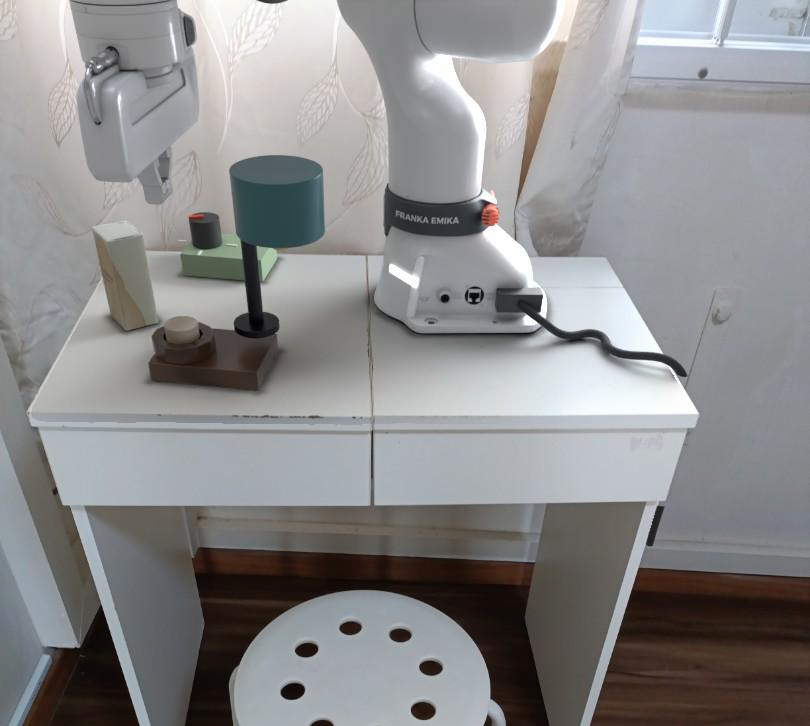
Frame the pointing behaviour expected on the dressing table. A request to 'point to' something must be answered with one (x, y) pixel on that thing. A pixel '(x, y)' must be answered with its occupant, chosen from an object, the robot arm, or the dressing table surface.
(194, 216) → the dimmer knob
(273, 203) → the lamp
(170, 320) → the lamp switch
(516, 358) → the dressing table surface
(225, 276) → the dimmer panel
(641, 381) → the dressing table surface
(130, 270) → the box
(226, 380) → the lamp base
